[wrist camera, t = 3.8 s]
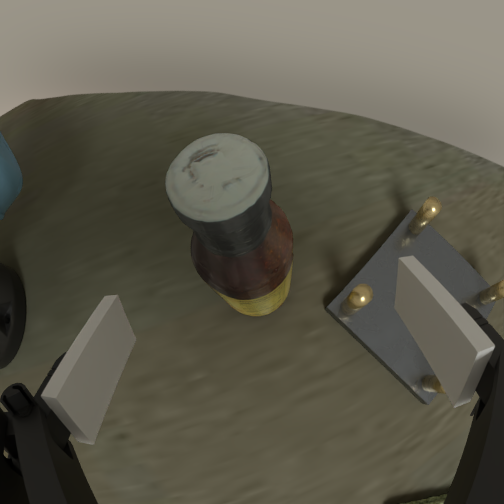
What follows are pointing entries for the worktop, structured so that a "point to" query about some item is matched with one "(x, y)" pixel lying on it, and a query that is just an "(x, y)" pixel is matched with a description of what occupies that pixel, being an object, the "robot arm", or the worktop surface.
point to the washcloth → (429, 500)
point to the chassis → (384, 291)
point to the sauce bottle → (233, 221)
